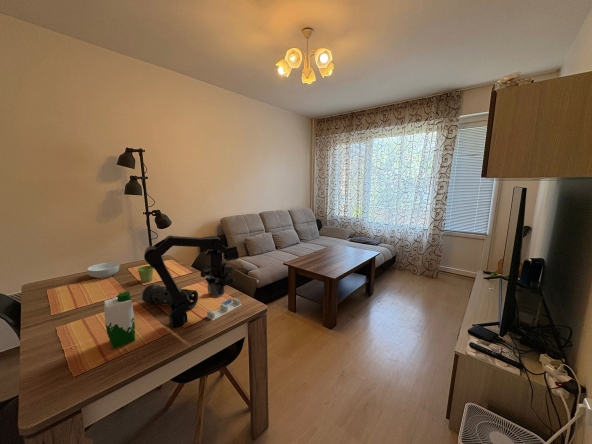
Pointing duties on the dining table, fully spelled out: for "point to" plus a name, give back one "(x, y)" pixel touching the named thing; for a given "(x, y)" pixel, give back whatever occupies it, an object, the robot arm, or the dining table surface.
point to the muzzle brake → (164, 295)
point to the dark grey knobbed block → (215, 289)
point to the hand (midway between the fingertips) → (217, 293)
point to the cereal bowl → (103, 270)
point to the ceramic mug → (210, 291)
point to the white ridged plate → (224, 308)
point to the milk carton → (119, 320)
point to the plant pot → (145, 273)
